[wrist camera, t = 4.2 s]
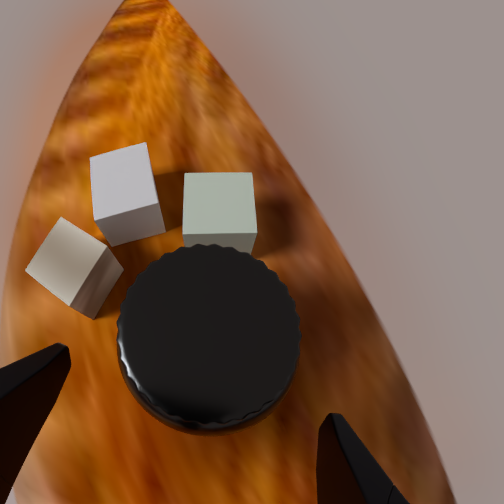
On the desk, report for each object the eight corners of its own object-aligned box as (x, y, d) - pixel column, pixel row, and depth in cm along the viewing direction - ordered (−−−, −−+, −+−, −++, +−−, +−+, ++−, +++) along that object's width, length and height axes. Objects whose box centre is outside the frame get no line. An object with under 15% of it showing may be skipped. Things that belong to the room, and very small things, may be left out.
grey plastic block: (166, 232, 21) (158, 202, 18) (112, 247, 21) (94, 220, 17) (153, 176, 23) (146, 142, 19) (104, 189, 22) (90, 157, 18)
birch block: (93, 320, 18) (69, 306, 15) (52, 289, 19) (25, 270, 15) (124, 269, 20) (107, 246, 16) (82, 243, 20) (60, 216, 17)
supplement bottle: (186, 430, 17) (150, 502, 6) (135, 332, 18) (44, 269, 7) (284, 379, 19) (381, 376, 8) (231, 286, 20) (256, 174, 9)
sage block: (248, 262, 21) (257, 232, 17) (188, 263, 21) (182, 234, 17) (244, 209, 23) (252, 172, 19) (188, 210, 22) (184, 173, 18)
